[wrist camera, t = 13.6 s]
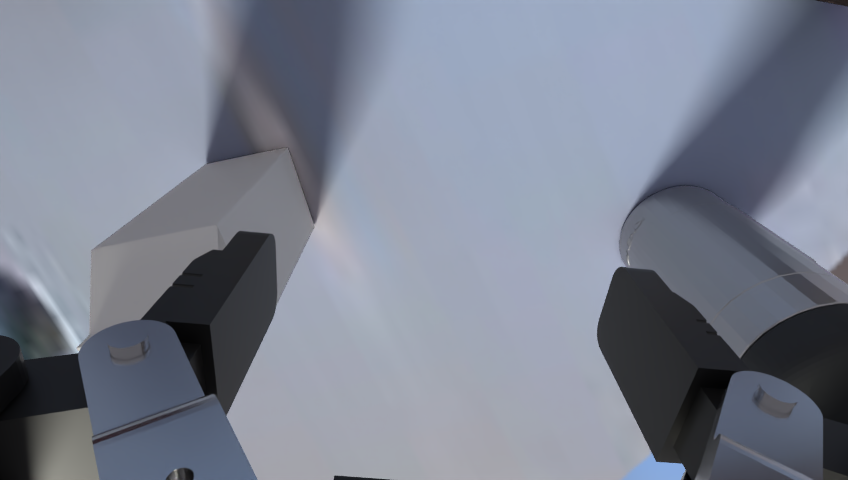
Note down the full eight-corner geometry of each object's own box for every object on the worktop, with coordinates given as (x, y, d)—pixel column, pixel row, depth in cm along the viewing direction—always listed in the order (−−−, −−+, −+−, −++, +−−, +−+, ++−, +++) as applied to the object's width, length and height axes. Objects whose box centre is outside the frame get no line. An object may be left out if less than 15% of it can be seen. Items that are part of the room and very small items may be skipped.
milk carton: (204, 163, 39) (37, 289, 22) (289, 146, 39) (182, 261, 22) (237, 241, 43) (111, 403, 26) (315, 226, 42) (240, 382, 25)
